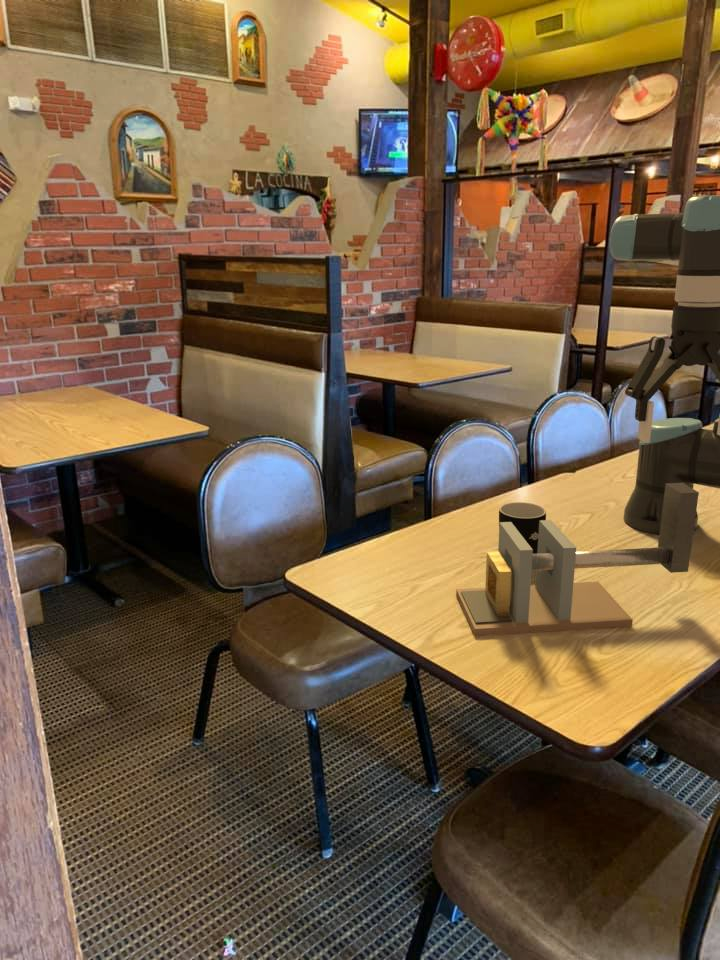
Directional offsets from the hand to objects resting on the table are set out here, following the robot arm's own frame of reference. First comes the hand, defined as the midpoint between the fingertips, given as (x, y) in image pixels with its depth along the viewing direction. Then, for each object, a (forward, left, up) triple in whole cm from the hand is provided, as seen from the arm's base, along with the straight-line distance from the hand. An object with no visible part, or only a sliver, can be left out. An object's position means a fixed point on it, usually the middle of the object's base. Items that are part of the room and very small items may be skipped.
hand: (683, 438), depth 117 cm
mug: (+18, -21, -29) cm, 41 cm away
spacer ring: (+30, +1, -24) cm, 38 cm away
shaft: (+12, +1, -22) cm, 25 cm away
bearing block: (+22, +1, -29) cm, 37 cm away
